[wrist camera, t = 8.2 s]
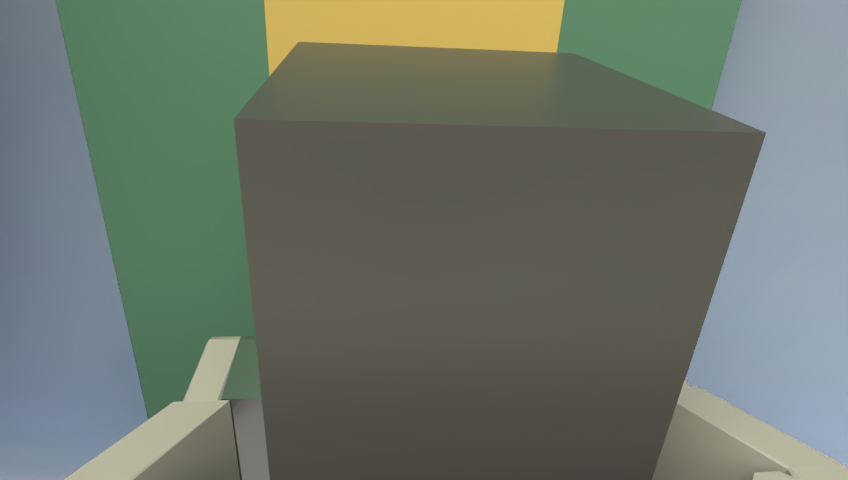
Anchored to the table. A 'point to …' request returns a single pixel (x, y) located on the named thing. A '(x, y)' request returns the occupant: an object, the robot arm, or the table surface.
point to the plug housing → (478, 260)
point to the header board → (241, 78)
